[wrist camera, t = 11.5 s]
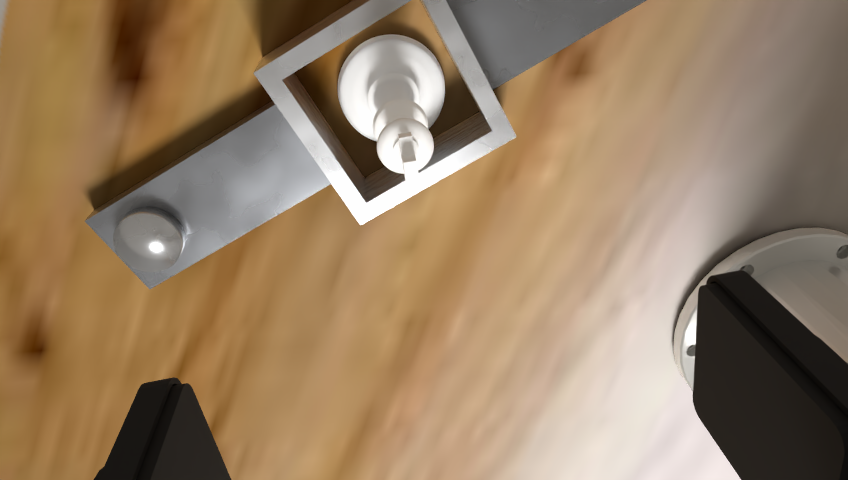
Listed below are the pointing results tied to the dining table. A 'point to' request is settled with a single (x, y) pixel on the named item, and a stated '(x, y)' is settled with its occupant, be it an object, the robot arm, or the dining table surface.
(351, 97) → the chess piece
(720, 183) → the dining table surface
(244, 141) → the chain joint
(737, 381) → the robot arm
